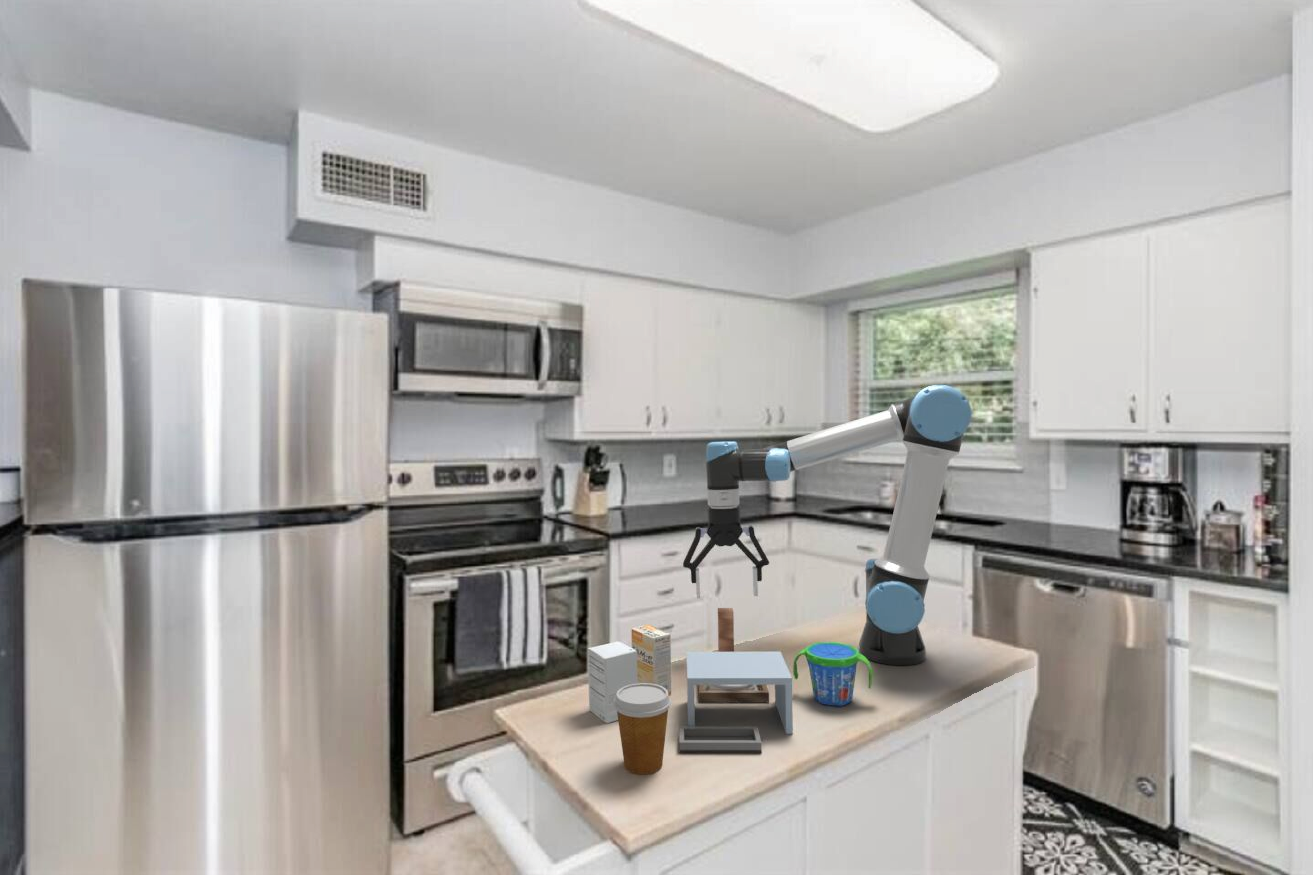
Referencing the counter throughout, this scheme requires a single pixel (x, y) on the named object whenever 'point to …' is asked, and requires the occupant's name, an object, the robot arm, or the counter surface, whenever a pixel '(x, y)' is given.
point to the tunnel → (741, 677)
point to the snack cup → (832, 671)
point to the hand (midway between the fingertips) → (726, 595)
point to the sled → (728, 646)
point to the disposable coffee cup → (642, 725)
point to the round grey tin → (731, 688)
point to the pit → (720, 740)
